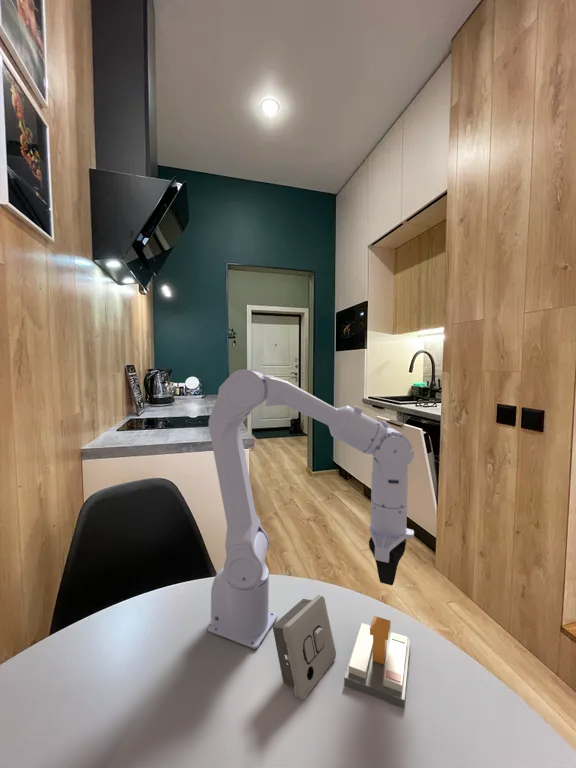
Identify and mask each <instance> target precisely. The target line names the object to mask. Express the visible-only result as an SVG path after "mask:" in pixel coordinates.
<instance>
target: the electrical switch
mask: <svg viewBox="0 0 576 768" xmlns="http://www.w3.org/2000/svg"><path fill="white" fill-rule="evenodd" d="M328 613H329V612H328V609H327V604H326V599H325V597H324V596H322V595H319V594H317V595H316V596H315V597H313V599H307V598H302V599H301V600H300V601H299V602H298V603H297V604H295V605H294V606H293V607H292V608H291V609H290V610H288V612H286V613H284V615H283V616H282V617H280V618H279V620H276V621H275V622H274V624H273V625H272V630H273V631H272V632H273V638H274V642H275V647H276V652H277V657H278V662H279V667H280V672H281V677H282V683H283V684H284V685H287V686H289V687H291V688H292V689H293V690H294V695H295V697H296V699H300V700H303V699H305V698H306V697H307V696H308V694H309V693H310V692H311V691H312V689H313V688H314V687H315V685H316V684H317V683H318V682H319V680H320V679H321V678H322V677H323V675H324V674H325V673H326V671H327V670H328V669H329V668H330V666H331V665H332V664H333V662H334V661H335V660H336V659H337V658H336V657H337V655H336V654H337V650H336V647H335V641H334V637H333V631H332V628H331V623H330V618H329V614H328Z"/></svg>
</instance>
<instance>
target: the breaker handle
mask: <svg viewBox="0 0 576 768" xmlns="http://www.w3.org/2000/svg"><path fill="white" fill-rule="evenodd" d="M390 630H391V620H389V619H386V618H383V617H379V616H376V615H373V616H372V619H371V623H370V635H373V658H372V661H375V662H378V663H381V664H383V665H384V663H385V658H386V651H387V640H388V637H389V633H391V631H390Z"/></svg>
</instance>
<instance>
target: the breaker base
mask: <svg viewBox="0 0 576 768" xmlns="http://www.w3.org/2000/svg"><path fill="white" fill-rule="evenodd" d="M370 626H371V624H370V625H369V624H367V623H362V622H361V623H360V624H359V627H358V632H357V634H356V638H355V640H354V644H353V647H352V651H351V654H350V658H349V660H348V663H347V667H346V671H345V674H344V677H343V678H344V679H343V683H344V684H343V685H344V687H347V688H350V689H352V690H354V691H357V692H360V693H362V694H364V695H365V694H366V695H368V696H370V697H372V698H375V699H377V700H381V701H383V702H385V703H388V704H389V705H393V706H396V707H398V708H401V709H405V703H406V693H407V680H408V674H409V673H408V671H409V663H410V652H411V639H410V638H408V636H405V635H402V634H398V633H396V632H389V637H388V640H387V651H386V658H385V663H384V665H383V664H381V663H378V662H375V661H372V658H373V635H370Z"/></svg>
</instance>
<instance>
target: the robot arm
mask: <svg viewBox="0 0 576 768" xmlns="http://www.w3.org/2000/svg"><path fill="white" fill-rule="evenodd" d="M263 402H265V406H266V407H272V406H273V407H275V406H287V407H289V408H291V409H292V410H295V411H297V412H299V413H302V414H303V415H306V416H307V417H310V418H312V419H314V420H316V421H318V422H320V423H322V424H324V425H326V426H327V427H328V429H329V432H330V435H331V437H333V438H335V439H336V440H338V441H340V442H342V443H344V444H346V445H348V446H349V447H351V448H354V449H356V450H358V451H359V452H361V453H363V454H366V455H372V456H373V457H372V471H371V484H370V485H371V486H370V487H371V489H370V490H371V492H370V497H371V498H370V523H369V524H368V525H369V527H368V529H369V530H368V532H369V533H370V537H369V541H368V547H369V550H370V551H371V553H372V555H373V557H374V561H375V564H376V570H377V575H378V579H379V583H380V584H385V585H388V586H393V585H394V583H395V580H396V574H397V570H398V565H399V562H400V560H401V559H402V557H403V556H404V554H405V551H406V545H407V539H409V540H410V539H411V540H413V539H414V537H415V531H414V529H411V528H408V527H407V523H408V522H407V520H408V519H407V518H408V517H407V515H408V488H409V487H408V486H409V485H408V483H409V477H408V470H409V469H408V466H409V465H410V464H411V462H412V461H413V459H414V457H415V451H414V450H413V446H412V444H411V441H410V440H409V438H408V437H407V436H406V435H404V434H403V433H401V432H400V431H399V430H397V429H395V428H394V427H393V426H391V425H389V423H388V422H386V421H384V420H381V421H379V420H376V419H374V418H373V417H372V416H369V415H367V414H365V413H363V409H362V408H361V407H359V406H358V405H354V406H353V407H351V406H350V405H344V406H340V407H334V406H333V405H331V404H329V403H327V402H325V401H323V400H322V399H320V398H318V397H317V396H315V395H313V394H311V393H310V392H307V391H305V390H304V389H302V388H300V387H298V386H296V385H295V384H293V383H291V382H290V381H287V380H285V379H282V378H280V377H277V376H273V375H272V374H266V373H264V372H263V371H262V370H259V369H238V370H236V371H234V372H232V373H231V374H229V376H228V377H227V378H226V379H225V380H224V381H223V383H222V384H221V385H220V386H219V387H218V394H217V397H216V400H215V403H214V405H213V408H212V410H211V413H210V416H209V419H208V430H209V435H210V440H211V445H212V450H213V455H214V456H213V457H214V462H215V467H216V473H217V477H218V483H219V489H220V493H221V500H222V504H223V505H222V506H223V509H224V515H225V520H226V534H225V545H224V548H225V554H226V555H225V561H224V563H223V567H221V568H220V569H219V570H218V572H217V573H216V574H215V577H214V579H213V582H212V585H211V590H210V625H208V628H207V630H208V632H210V633H212V634H215V635H217V636H220V637H223V638H226V639H227V640H230V641H233V642H236V643H238V644H241V645H243V646H246V647H249V648H251V649H254V650H256V649H258V648H259V647H260V645H261V644H262V642H263V640H264V639H265V638H266V636H267V634H268V632H269V631H270V629H271V628H273V625H274V624H275V623H276V621H277V619H278V614H277V613H276V612H272V611H269V602H270V601H269V598H270V597H269V596H270V595H269V594H270V593H269V590H270V588H269V585H270V584H269V583H270V581H269V580H270V570H269V568H268V566H267V564H266V556H267V553H268V551H269V548H270V538H269V535H268V534H267V532H266V531H265V529H264V528H263V526H262V523H261V519H260V517H259V516H258V514H257V512H256V507H255V503H254V502H255V501H254V498H253V496H254V495H253V491H252V486H251V480H250V474H249V469H248V463H247V458H246V452H245V447H244V441H243V435H242V431H241V426H242V424H243V423H244V421H245V420H246V419H247V417H248V416H249V415H250V414H251V412H252V411H253V410H254V409H255V408H257V407H258V406H260V405H261V404H263Z"/></svg>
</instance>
